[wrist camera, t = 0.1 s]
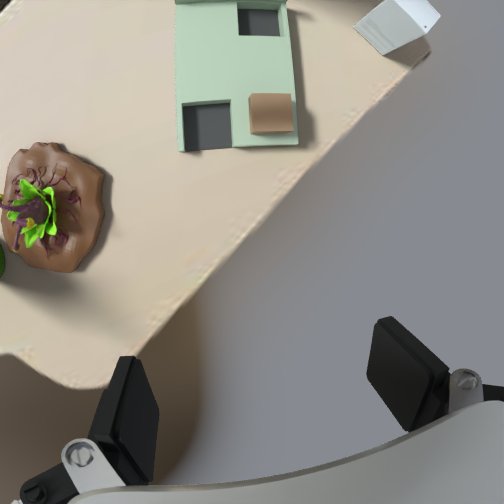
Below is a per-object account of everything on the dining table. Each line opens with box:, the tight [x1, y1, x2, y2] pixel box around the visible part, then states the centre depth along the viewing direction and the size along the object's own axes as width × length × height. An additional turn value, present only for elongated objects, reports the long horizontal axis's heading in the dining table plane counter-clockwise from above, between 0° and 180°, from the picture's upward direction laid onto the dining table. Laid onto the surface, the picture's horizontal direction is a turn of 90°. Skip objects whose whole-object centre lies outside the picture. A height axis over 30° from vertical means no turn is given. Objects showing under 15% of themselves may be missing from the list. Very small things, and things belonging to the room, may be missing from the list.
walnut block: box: [248, 93, 294, 134], centre depth 34 cm, size 5×5×3 cm
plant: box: [0, 142, 105, 273], centre depth 32 cm, size 20×20×11 cm
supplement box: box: [353, 0, 441, 56], centre depth 29 cm, size 7×7×13 cm
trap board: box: [175, 0, 299, 152], centre depth 32 cm, size 24×16×6 cm, turn 3°
